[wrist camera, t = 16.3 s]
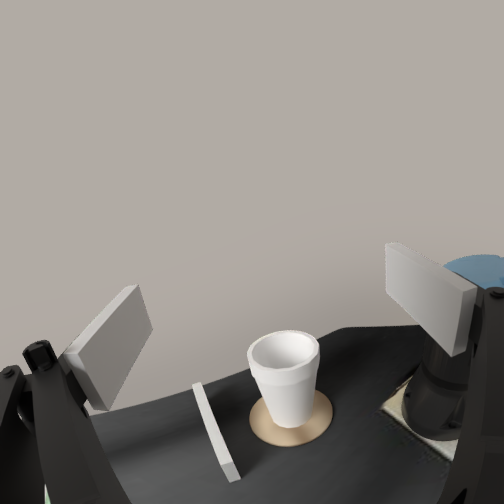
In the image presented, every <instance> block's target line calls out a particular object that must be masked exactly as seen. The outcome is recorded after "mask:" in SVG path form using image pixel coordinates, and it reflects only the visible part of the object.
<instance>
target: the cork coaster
mask: <svg viewBox="0 0 504 504" xmlns="http://www.w3.org/2000/svg"><path fill="white" fill-rule="evenodd" d="M332 412H333V410H332V405H331V403H330V401H329V399H328V398H327V397H326V396H325V395H324V394H322V393H321V392H319V391H317V390H315V392H314V400H313V408H312V413H311V418H310V419H309V420H308V421H307V422H306V423H305V424H303V425H301V426H299V427H294V428H285V427H281V426H278V425H277V424H276V423H275V422H273V419H272V417H271V415H270V413H269V410H268V408H267V406H266V403H265V401H264V399H263V397H262V398H260V399H259V400H258V401H257V402H256V403H255V405H254V406H253V408H252V410H251V412H250V417H249V419H250V425H251V428H252V430H253V432H254V434H255V435H256V436H257V437H258V438H259V439H261V440H262V441H264V442H266V443H268V444H271V445H274V446H280V447H294V446H300V445H303V444H306V443H309V442H311V441H313V440H315V439H316V438H318V437H319V436H321V435H322V434H323V433H324V432H325V431H326V430H327V428H328V427H329V425H330V423H331V420H332Z"/></svg>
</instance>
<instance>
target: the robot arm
mask: <svg viewBox="0 0 504 504" xmlns="http://www.w3.org/2000/svg"><path fill="white" fill-rule="evenodd" d="M385 257H386V293H387V294H389V295H390V296H391V297H392V298H393V299H394V300H395V301H396V302H397V303H398V304H399V305H400V306H401V307H402V308H403V309H404V310H405V311H406V312H407V313H408V314H409V315H410V316H412V318H413V319H415V321H417V322H418V323H419V325H420V326H421V327H422V328H423V329H424V330H425V331H426V336H425V343H424V349H423V356H422V361H421V364H420V365H419V367H418V369H417V370H416V372H415V374H414V375H413V377H412V378H411V380H410V381H409V383H408V385H407V387H406V389H405V391H404V396H403V400H402V407H401V408H402V415H403V418H404V420H405V422H406V423H407V425H408V426H409V427H410V428H411V429H412V430H413V431H414V432H416V433H417V434H419V435H421V436H422V437H425V438H428V439H431V440H436V441H450V440H456V439H459V440H458V444H457V448H456V451H455V455H454V459H453V462H452V465H451V469H450V472H449V475H448V478H447V481H446V484H445V487H444V489H443V492H442V494H441V497H440V499H439V501H438V502H437V504H504V258H500V257H499V256H497V255H472V256H466V257H462V258H459V259H456V260H453V261H451V262H449V263H447V264H445V265H444V266H441V265H439V264H438V263H436V262H434V261H432V260H430V259H429V258H427V257H425V256H423V255H421V254H419V253H417V252H416V251H414V250H412V249H410V248H408V247H406V246H404V245H402V244H401V243H398V242H393V243H388V244H385ZM152 330H153V329H152V326H151V322H150V319H149V317H148V314H147V311H146V307H145V304H144V301H143V298H142V295H141V292H140V288H139V285H132V286H126V287H125V288H124V289H123V290H122V291H121V292H120V293H119V294H118V295H117V296H116V297H115V298H114V299H113V300H112V301H111V302H110V303H109V304H108V305H107V306H106V307H105V308H104V309H103V310H102V312H101V313H100V314H99V315H98V316H97V317H96V318H95V319H94V320H93V321H92V322H91V323H90V324H89V325H88V326H87V327H86V328H85V329H84V331H83V332H82V333H81V334H80V335H79V336H78V337H77V338H76V339H75V340H74V341H73V342H72V343H71V344H70V345H69V347H68V348H67V349H66V350H65V351H64V352H63V353H62V354H61V355H60V357H59V358H58V359H57V357H56V355H55V353H54V351H53V349H52V347H51V344H50V342H49V341H47V340H41V341H37V342H35V343H33V344H31V345H29V346H28V347H27V348H26V349H25V350H24V351H23V353H22V354H23V356H24V358H25V360H26V362H27V364H28V366H29V368H30V370H31V371H32V374H28V375H24V374H23V372H22V371H21V369H20V367H19V366H17V365H13V366H8V367H6V368H4V369H3V371H1V372H0V504H45V485H46V489H47V493H48V497H49V500H50V504H132V503H131V502H130V500H129V498H128V497H127V495H126V493H125V492H124V490H123V488H122V486H121V484H120V482H119V481H118V479H117V477H116V475H115V473H114V471H113V469H112V467H111V465H110V463H109V461H108V459H107V457H106V455H105V452H104V450H103V448H102V446H101V444H100V441H99V439H98V437H97V434H96V432H95V429H94V427H93V424H92V422H91V419H90V417H89V414H88V412H87V410H86V408H85V407H84V403H85V401H86V400H87V399H88V401H89V403H90V404H91V406H92V407H93V409H94V410H103V411H109V410H110V408H111V406H112V404H113V402H114V400H115V398H116V396H117V394H118V392H119V390H120V389H121V387H122V385H123V383H124V381H125V379H126V377H127V376H128V373H129V372H130V370H131V368H132V366H133V364H134V363H135V361H136V359H137V357H138V355H139V354H140V352H141V349H142V348H143V346H144V345H145V343H146V341H147V339H148V337H149V336H150V334H151V332H152ZM18 413H19V414H20V416H21V417H22V420H21V419H20V417H19V415H18Z"/></svg>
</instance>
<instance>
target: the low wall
mask: <svg viewBox="0 0 504 504" xmlns="http://www.w3.org/2000/svg"><path fill="white" fill-rule="evenodd" d="M192 387H193V390H194V394H195V397H196V400H197V403H198V406H199V409H200V412H201V414H202V417H203V420H204V423H205V426H206V429H207V431H208V434H209V437H210V439H211V442H212V445H213V447H214V450H215V453H216V455H217V458H218V460H219V463H220V465H221V467H222V469H223V471H224V473H225V475H226V477H227V478H228V480H229V482H233V481H236V480H239V479H241V478H240V476H239V473H238V471H237V469H236V467H235V465H234V462H233V460H232V458H231V456H230V454H229V451H228V449H227V447H226V444H225V442H224V440H223V437H222V435H221V433H220V430H219V428H218V425H217V423H216V421H215V418H214V416H213V413H212V411H211V408H210V405H209V403H208V400H207V398H206V395H205V392H204V390H203V387H202V384H201V382H199V383H196V384H192Z"/></svg>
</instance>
